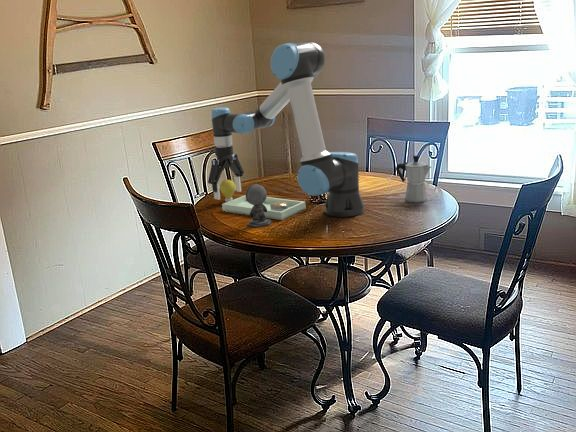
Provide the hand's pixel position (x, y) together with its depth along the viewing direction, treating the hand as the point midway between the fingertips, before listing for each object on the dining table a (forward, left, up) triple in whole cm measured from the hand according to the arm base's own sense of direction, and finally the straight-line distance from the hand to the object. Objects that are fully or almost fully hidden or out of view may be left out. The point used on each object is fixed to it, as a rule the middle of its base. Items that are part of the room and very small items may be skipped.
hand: (228, 195), depth 248 cm
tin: (-29, +3, -3) cm, 30 cm away
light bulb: (0, 0, -4) cm, 4 cm away
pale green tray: (-21, +3, -3) cm, 22 cm away
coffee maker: (-69, -33, -4) cm, 77 cm away
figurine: (-31, +18, -4) cm, 36 cm away
